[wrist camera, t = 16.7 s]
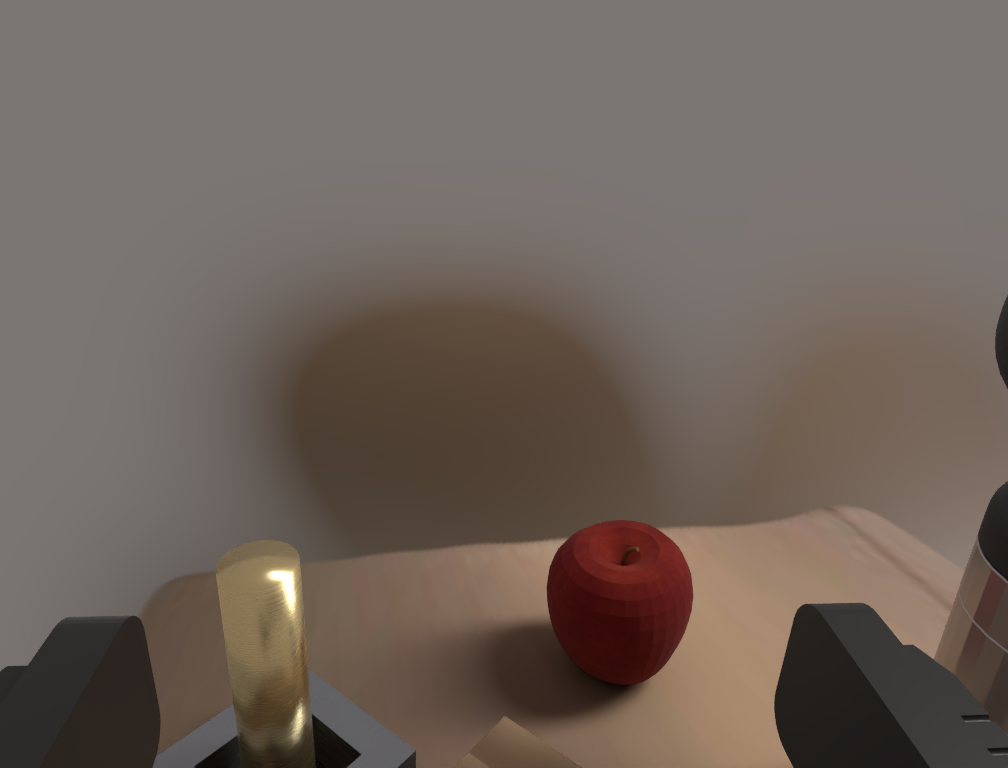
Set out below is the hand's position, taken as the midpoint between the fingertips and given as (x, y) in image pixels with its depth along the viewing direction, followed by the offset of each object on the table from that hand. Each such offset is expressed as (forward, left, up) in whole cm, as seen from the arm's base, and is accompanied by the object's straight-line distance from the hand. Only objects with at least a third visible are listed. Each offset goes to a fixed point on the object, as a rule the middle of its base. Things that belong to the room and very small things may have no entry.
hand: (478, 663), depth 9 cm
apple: (-31, -13, -30) cm, 45 cm away
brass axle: (-10, -20, -30) cm, 38 cm away
